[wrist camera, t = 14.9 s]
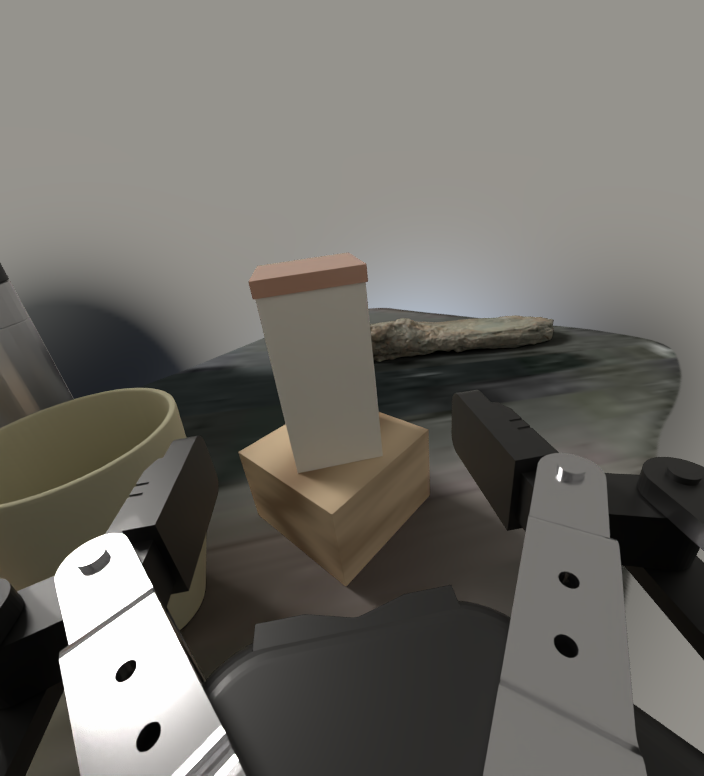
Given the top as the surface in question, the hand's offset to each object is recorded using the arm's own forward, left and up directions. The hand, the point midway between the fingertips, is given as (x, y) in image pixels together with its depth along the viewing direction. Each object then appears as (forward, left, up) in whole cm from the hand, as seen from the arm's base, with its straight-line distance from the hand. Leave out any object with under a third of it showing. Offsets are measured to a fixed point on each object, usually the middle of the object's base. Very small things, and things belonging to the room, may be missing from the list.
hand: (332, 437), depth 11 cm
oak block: (-9, +4, -13) cm, 17 cm away
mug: (-10, -9, -13) cm, 19 cm away
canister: (-9, +4, -7) cm, 12 cm away
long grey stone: (-29, +29, -13) cm, 43 cm away
